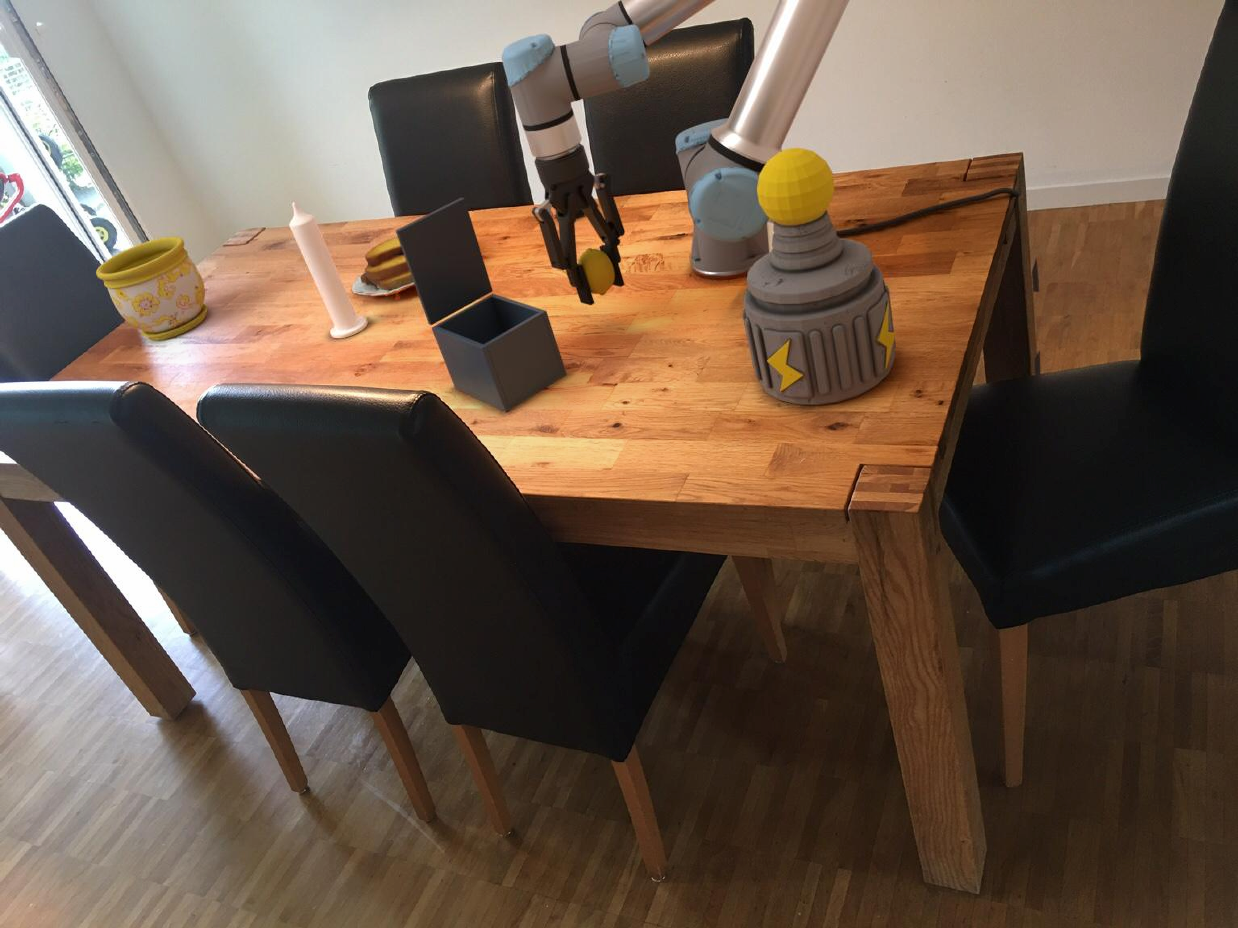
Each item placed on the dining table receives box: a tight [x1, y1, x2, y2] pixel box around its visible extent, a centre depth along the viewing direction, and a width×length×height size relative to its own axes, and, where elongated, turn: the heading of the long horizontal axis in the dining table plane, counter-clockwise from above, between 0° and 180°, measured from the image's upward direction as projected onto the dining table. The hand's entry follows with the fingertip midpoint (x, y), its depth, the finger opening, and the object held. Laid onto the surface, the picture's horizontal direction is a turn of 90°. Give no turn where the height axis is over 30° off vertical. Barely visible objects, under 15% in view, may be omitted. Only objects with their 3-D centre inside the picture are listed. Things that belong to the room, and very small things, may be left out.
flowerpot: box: [95, 236, 208, 341], centre depth 213 cm, size 18×18×16 cm
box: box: [431, 293, 568, 413], centre depth 153 cm, size 15×12×11 cm
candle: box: [288, 202, 368, 339], centre depth 184 cm, size 7×7×25 cm
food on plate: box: [350, 236, 415, 304], centre depth 204 cm, size 25×25×7 cm
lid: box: [395, 197, 494, 326], centre depth 151 cm, size 15×12×1 cm
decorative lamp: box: [741, 147, 897, 406], centre depth 127 cm, size 19×19×30 cm
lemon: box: [577, 247, 615, 296], centre depth 158 cm, size 6×6×8 cm
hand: (602, 293), depth 160 cm, fingers closed on lemon, 6 cm apart
